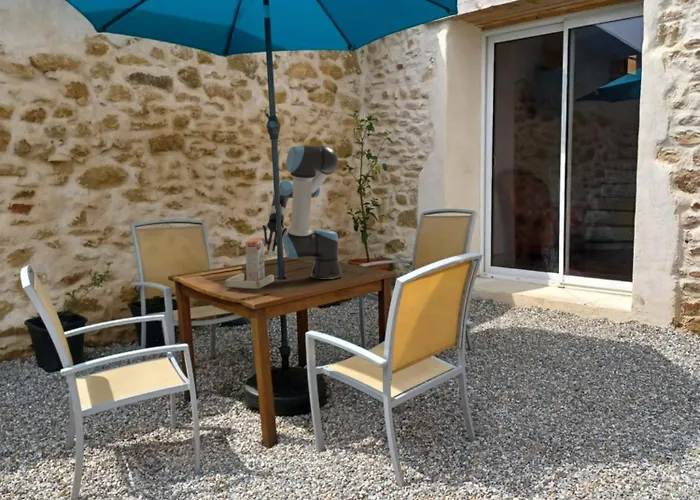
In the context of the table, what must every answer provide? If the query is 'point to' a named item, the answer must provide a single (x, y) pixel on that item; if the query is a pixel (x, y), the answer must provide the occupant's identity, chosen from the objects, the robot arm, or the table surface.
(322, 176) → the robot arm
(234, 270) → the table surface
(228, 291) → the table surface
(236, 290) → the table surface
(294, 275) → the table surface
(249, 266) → the cracker box
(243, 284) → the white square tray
